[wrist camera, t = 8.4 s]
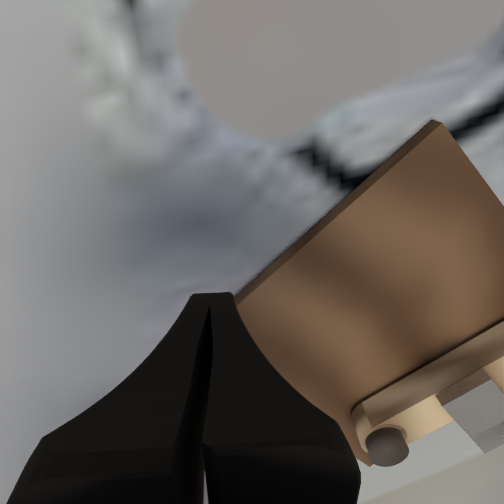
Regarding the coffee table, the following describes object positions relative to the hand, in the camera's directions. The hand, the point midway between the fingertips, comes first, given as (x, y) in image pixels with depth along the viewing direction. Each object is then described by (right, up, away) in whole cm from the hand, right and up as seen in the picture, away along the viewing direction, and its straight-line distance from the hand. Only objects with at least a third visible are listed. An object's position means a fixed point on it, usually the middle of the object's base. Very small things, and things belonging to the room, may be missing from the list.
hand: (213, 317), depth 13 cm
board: (+10, -3, +11) cm, 16 cm away
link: (+14, -6, +12) cm, 19 cm away
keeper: (+15, -6, +12) cm, 20 cm away
